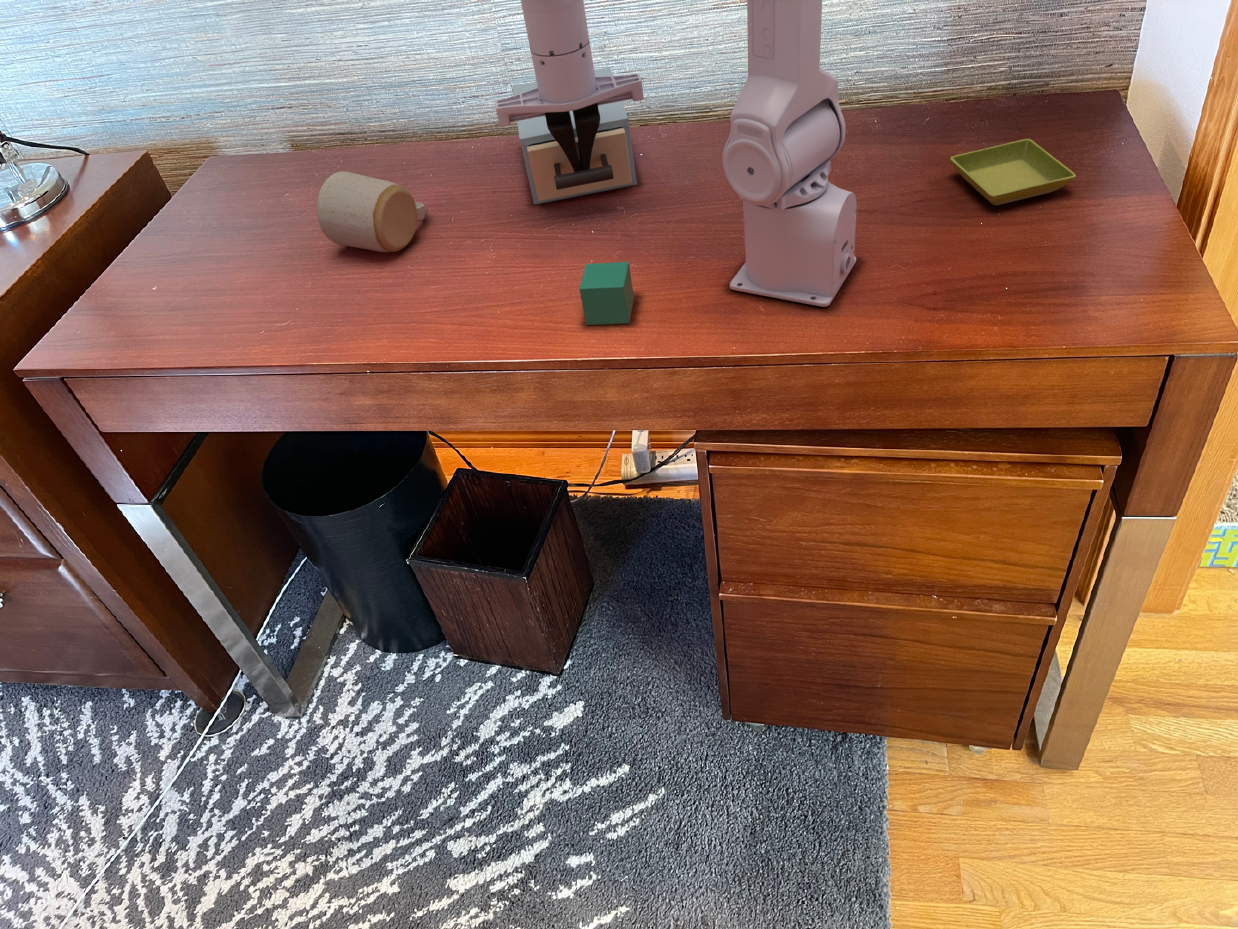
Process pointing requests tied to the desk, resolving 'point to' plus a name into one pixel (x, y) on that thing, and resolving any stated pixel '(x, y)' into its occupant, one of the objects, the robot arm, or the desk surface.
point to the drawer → (604, 172)
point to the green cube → (607, 293)
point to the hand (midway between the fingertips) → (582, 177)
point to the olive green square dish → (1012, 171)
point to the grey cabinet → (538, 132)
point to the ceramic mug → (367, 212)
